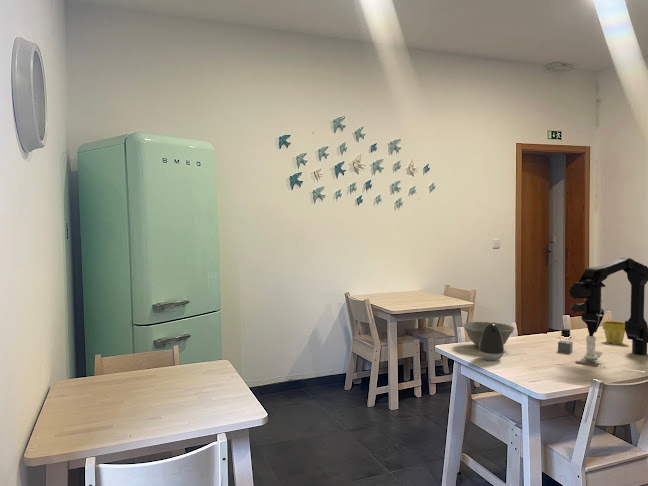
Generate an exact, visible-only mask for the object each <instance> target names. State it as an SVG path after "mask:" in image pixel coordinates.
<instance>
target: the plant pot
mask: <svg viewBox="0 0 648 486" xmlns="http://www.w3.org/2000/svg"><path fill="white" fill-rule="evenodd" d="M602 329H603V330H604V331H603V332H604V335H605V339H606V342H607V343H608V342H609V344H613V343H615V344H614V345H621V343H622V344H623V341H624V337H625V335H626V332H625V330H624V329H625V321H617V320H616V321H615V320H614V321H613V320H605V321H602Z"/></svg>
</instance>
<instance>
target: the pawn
mask: <svg viewBox="0 0 648 486" xmlns="http://www.w3.org/2000/svg"><path fill="white" fill-rule="evenodd" d="M585 340H586V353H584V355H583V357H584V358H586V359H588V360H589V359H592V360H595V359H597V358H598V357H597V355H595V351H596V342H597V338H596V337H595V335H593V336H589V335H587V336H586V337H585ZM595 361H596V360H595Z"/></svg>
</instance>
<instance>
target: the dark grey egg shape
mask: <svg viewBox="0 0 648 486" xmlns="http://www.w3.org/2000/svg"><path fill="white" fill-rule="evenodd" d="M504 345H505V344H504ZM504 345H503V340H502V336H501V333H500V330H499V328H498V327H497V326H496V325H495V324H488V325H486V327H485V328H484V330H483V332H482V335H481V338H480V343H479V347H478V351H479V355H480V356H481V357H482V358H483V360H486V361H491V362H492V361H493V362H495V361H499V360H500V359H501V358H502V357H503V354H504V352H505V347H504Z"/></svg>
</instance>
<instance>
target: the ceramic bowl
mask: <svg viewBox="0 0 648 486" xmlns="http://www.w3.org/2000/svg"><path fill="white" fill-rule="evenodd" d="M488 324H495V325H496V326H497V327H498V328H499V330H500V333H501V336H502V340H503V345H505V344H506V343H507V341H508V339H509V338H510V335H512V333H513V332H514V330H515V327H514V326H513V325H512V326H511V325H509V324H506V323H499V322H489V321H470V322H465V323H464V324H463V328H464V329H465V333H466V334H467V336H468V338H469V340H470V341H471V342H472V343H473V344H474V345H475V346H477V347H478V348H479V343H480V338H481V335H482V332H483V330H484V328H485V327H486V325H488Z"/></svg>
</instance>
